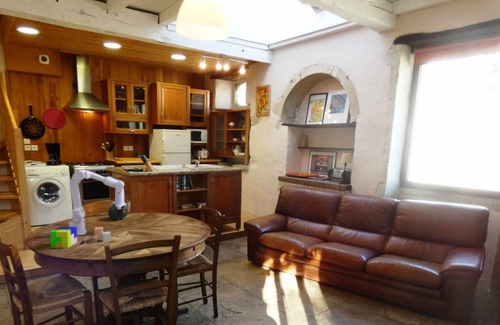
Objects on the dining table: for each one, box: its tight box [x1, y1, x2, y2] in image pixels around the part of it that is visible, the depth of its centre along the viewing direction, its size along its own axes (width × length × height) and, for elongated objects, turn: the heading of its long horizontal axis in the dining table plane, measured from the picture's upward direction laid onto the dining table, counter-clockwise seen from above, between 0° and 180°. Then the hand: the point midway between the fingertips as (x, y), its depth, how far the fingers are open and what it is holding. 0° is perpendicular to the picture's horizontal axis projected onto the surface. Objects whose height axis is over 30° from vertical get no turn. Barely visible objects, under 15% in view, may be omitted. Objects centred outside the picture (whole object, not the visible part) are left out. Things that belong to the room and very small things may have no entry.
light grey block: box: [101, 230, 112, 243], centre depth 192 cm, size 4×4×5 cm
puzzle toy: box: [50, 226, 78, 249], centre depth 183 cm, size 10×10×10 cm
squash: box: [107, 202, 129, 221], centre depth 242 cm, size 14×15×15 cm
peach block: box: [94, 226, 104, 237], centre depth 202 cm, size 4×4×5 cm
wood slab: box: [83, 234, 99, 244], centre depth 190 cm, size 7×7×3 cm
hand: (120, 216), depth 212 cm, fingers open, 7 cm apart
